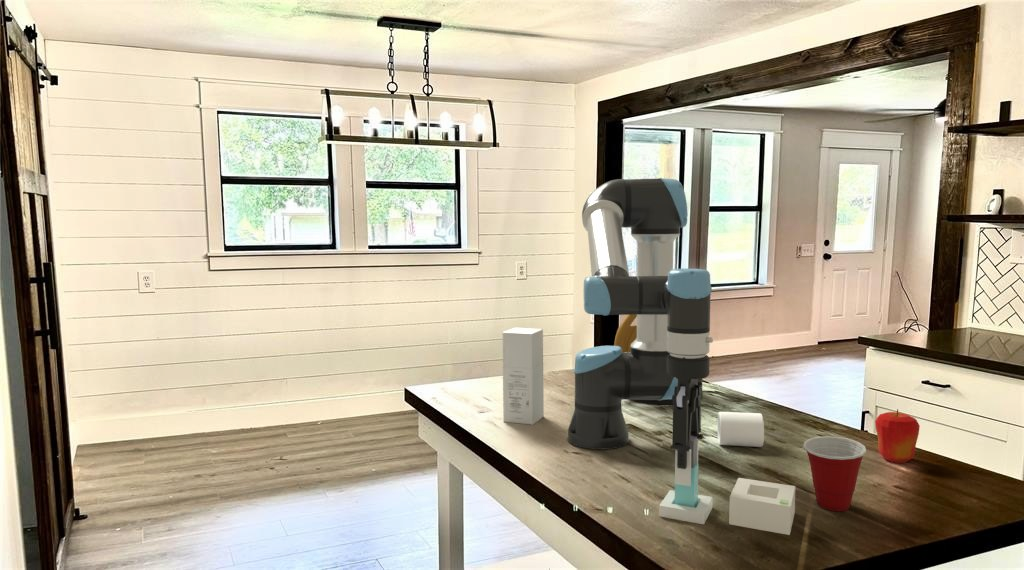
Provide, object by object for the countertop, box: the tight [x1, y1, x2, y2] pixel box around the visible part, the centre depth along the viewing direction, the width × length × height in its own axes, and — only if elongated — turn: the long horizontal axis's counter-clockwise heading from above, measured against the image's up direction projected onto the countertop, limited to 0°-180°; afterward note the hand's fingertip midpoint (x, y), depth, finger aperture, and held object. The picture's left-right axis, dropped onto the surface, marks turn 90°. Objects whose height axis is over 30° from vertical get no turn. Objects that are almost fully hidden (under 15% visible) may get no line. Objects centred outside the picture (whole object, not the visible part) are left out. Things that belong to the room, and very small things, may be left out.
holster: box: [658, 489, 713, 525], centre depth 127 cm, size 8×8×3 cm
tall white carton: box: [502, 327, 545, 426], centre depth 191 cm, size 9×9×25 cm
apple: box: [874, 408, 921, 464], centre depth 156 cm, size 9×8×12 cm
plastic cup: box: [803, 435, 867, 512], centre depth 131 cm, size 11×11×12 cm
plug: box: [674, 436, 699, 508], centre depth 127 cm, size 4×4×14 cm
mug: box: [716, 411, 765, 448], centre depth 170 cm, size 12×10×8 cm
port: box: [728, 477, 796, 536], centre depth 124 cm, size 10×10×6 cm
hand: (686, 478), depth 127 cm, fingers open, 5 cm apart
